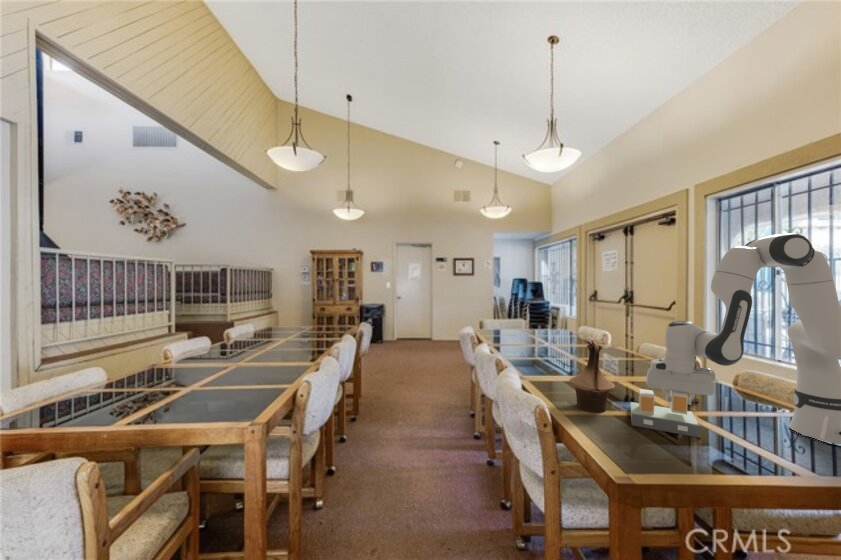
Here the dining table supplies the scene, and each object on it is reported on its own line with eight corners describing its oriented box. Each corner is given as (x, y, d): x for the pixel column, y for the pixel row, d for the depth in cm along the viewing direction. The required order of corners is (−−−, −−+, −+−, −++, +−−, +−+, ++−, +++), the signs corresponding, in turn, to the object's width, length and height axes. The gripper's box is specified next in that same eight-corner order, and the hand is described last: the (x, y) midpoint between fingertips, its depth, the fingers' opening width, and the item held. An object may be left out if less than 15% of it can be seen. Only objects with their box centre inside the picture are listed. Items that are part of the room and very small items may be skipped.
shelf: (691, 419, 135) (691, 408, 135) (700, 438, 120) (701, 426, 120) (630, 409, 145) (630, 399, 145) (631, 425, 130) (632, 414, 130)
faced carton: (652, 408, 138) (652, 390, 138) (654, 414, 132) (654, 396, 132) (638, 406, 140) (639, 388, 140) (639, 412, 134) (640, 393, 134)
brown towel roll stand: (621, 418, 136) (622, 345, 135) (573, 414, 139) (574, 343, 139) (607, 401, 153) (608, 336, 152) (565, 398, 157) (565, 335, 156)
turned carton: (684, 408, 133) (684, 390, 133) (687, 415, 127) (687, 395, 127) (669, 406, 135) (670, 388, 135) (672, 412, 129) (672, 393, 129)
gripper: (713, 367, 128) (712, 405, 129) (646, 359, 138) (645, 395, 139) (717, 371, 123) (716, 411, 123) (647, 363, 133) (646, 400, 133)
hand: (678, 402), depth 131 cm, fingers closed on turned carton, 4 cm apart
